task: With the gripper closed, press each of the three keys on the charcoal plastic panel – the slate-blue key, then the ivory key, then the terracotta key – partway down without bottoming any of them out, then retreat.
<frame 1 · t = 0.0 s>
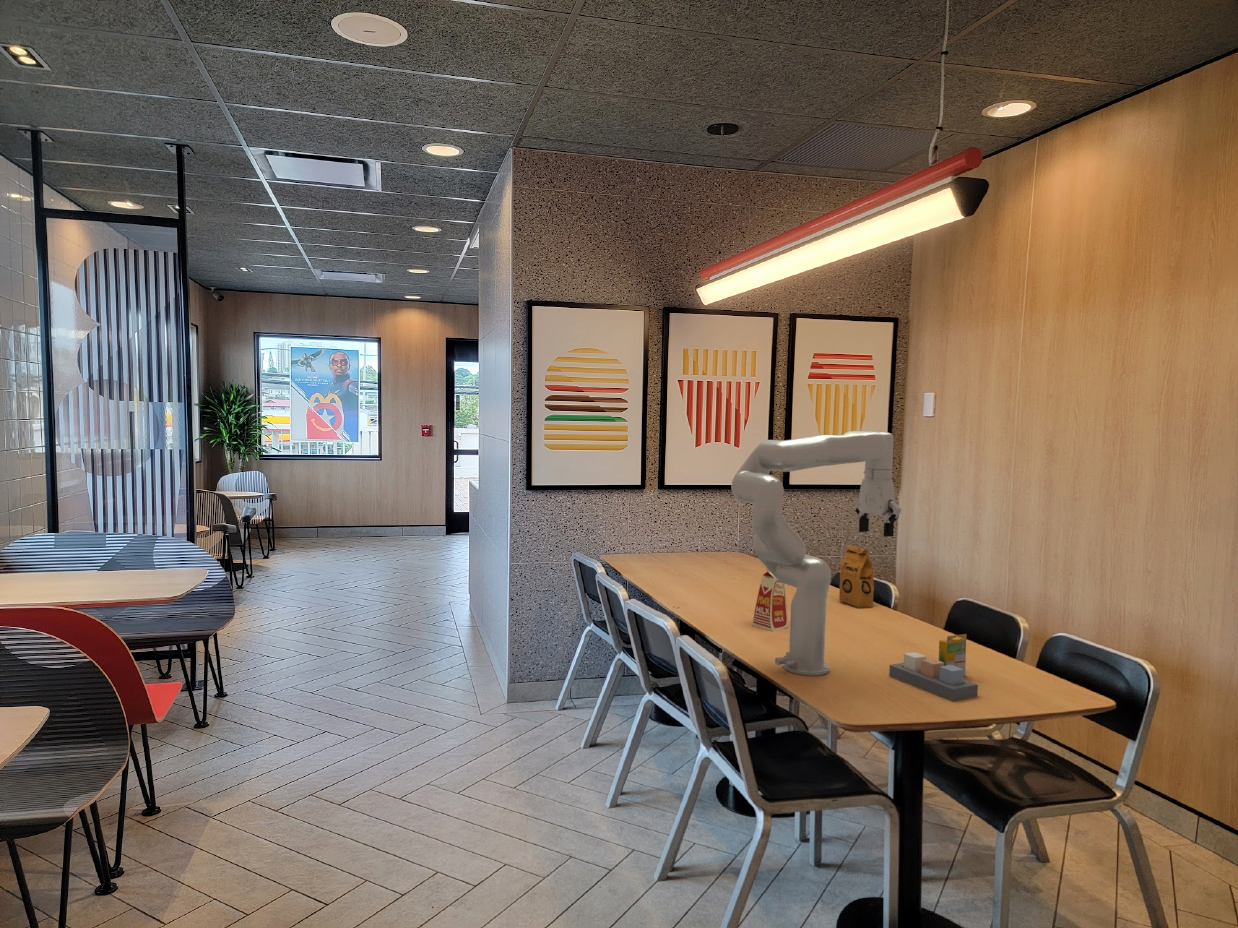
hand: (875, 533, 229), 37 cm above the table, tool pointing down, fingers open, 9 cm apart
terracotta key: (932, 668, 208), point 4 cm above the table, slide at 0.0 cm
milk carton: (770, 626, 265), on the table
crayon box: (951, 675, 218), on the table
ivory key: (914, 662, 214), point 5 cm above the table, slide at 0.0 cm
coffee package: (856, 605, 299), on the table
slate key: (951, 675, 203), point 4 cm above the table, slide at 0.0 cm
panel: (931, 685, 209), on the table
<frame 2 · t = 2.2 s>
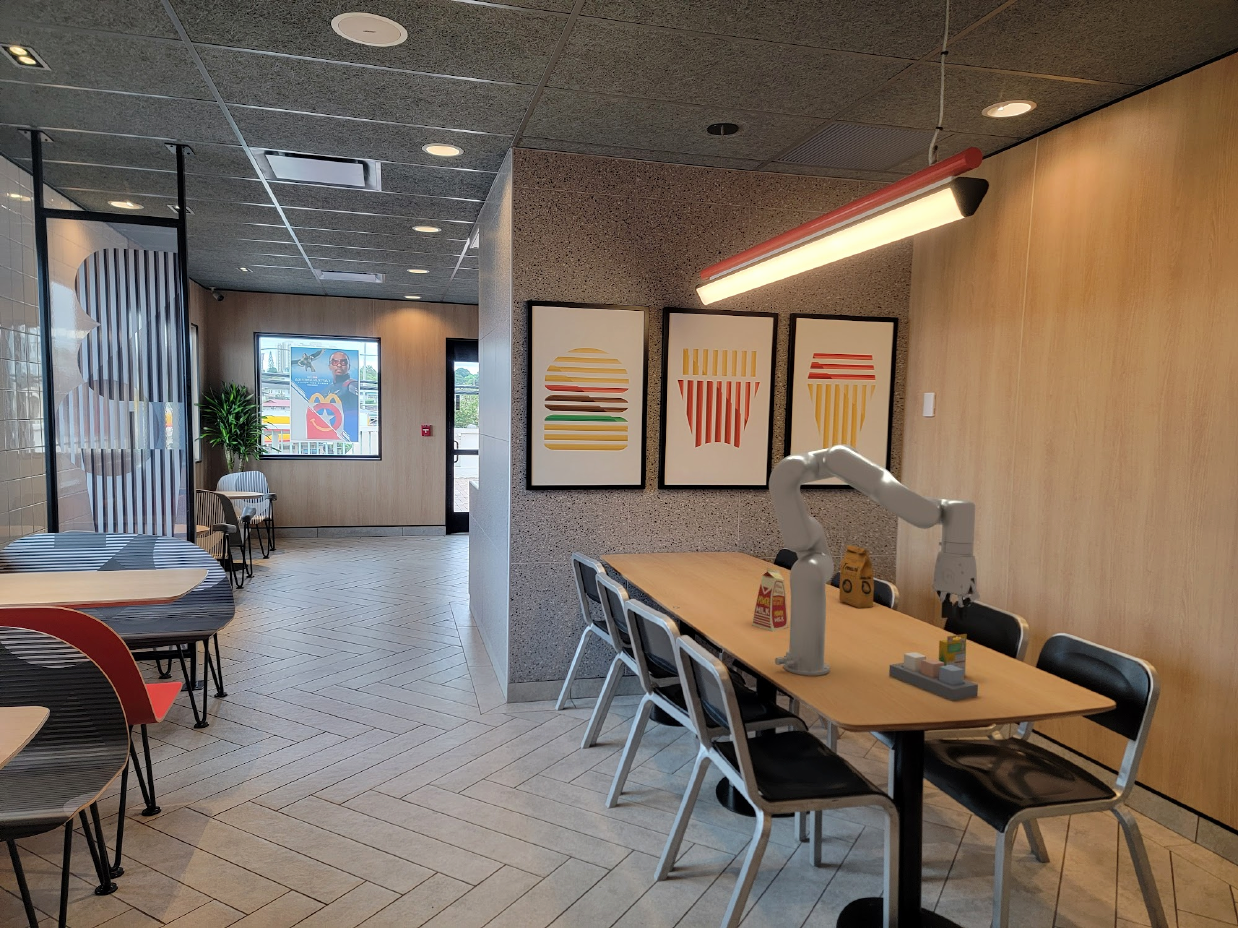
hand: (953, 618, 202), 19 cm above the table, tool pointing down, fingers open, 3 cm apart
nothing on the table moved.
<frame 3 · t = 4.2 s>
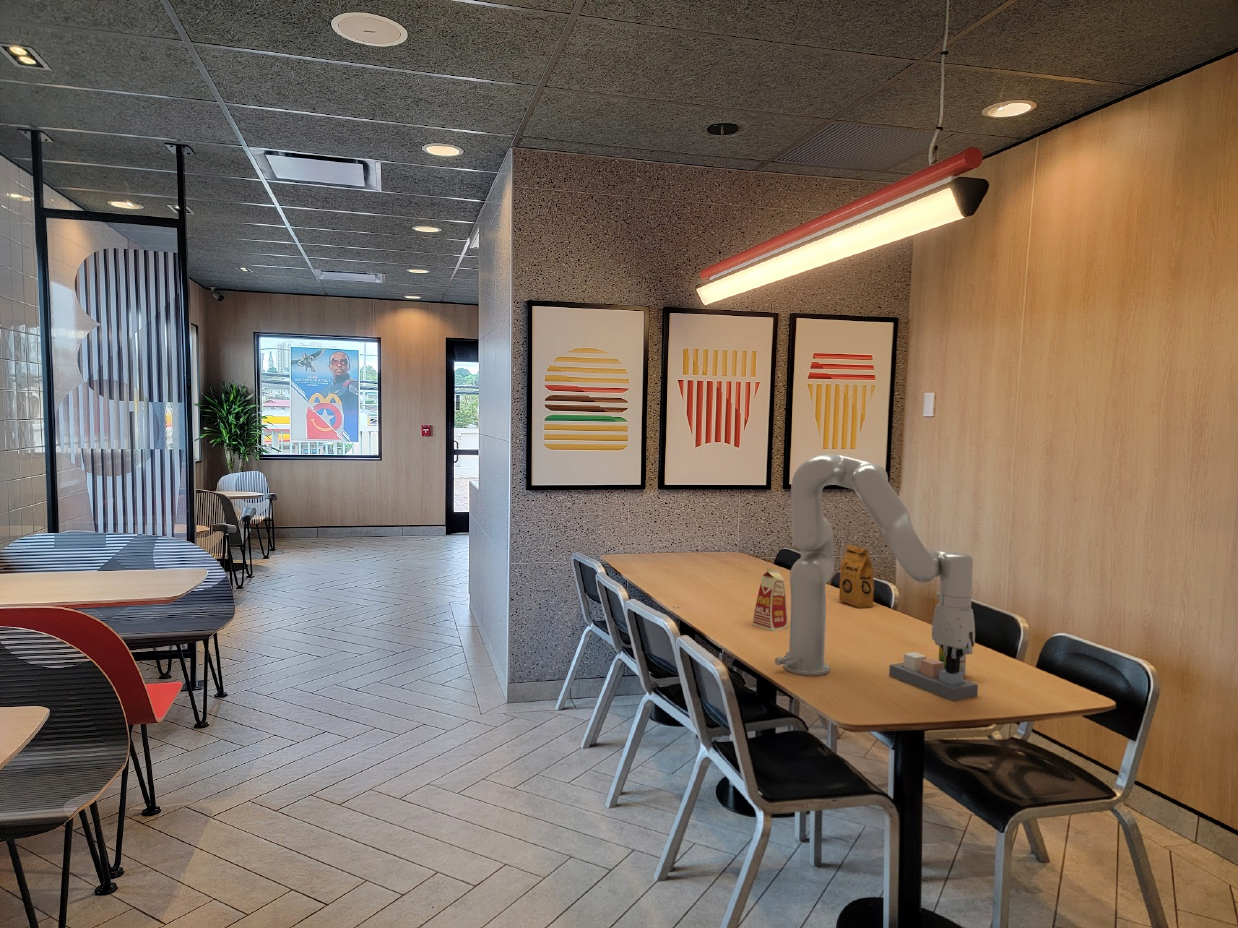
hand: (952, 671, 203), 6 cm above the table, tool pointing down, fingers closed
slate key: (951, 679, 203), point 3 cm above the table, slide at 1.1 cm, touching gripper
everything else where it was.
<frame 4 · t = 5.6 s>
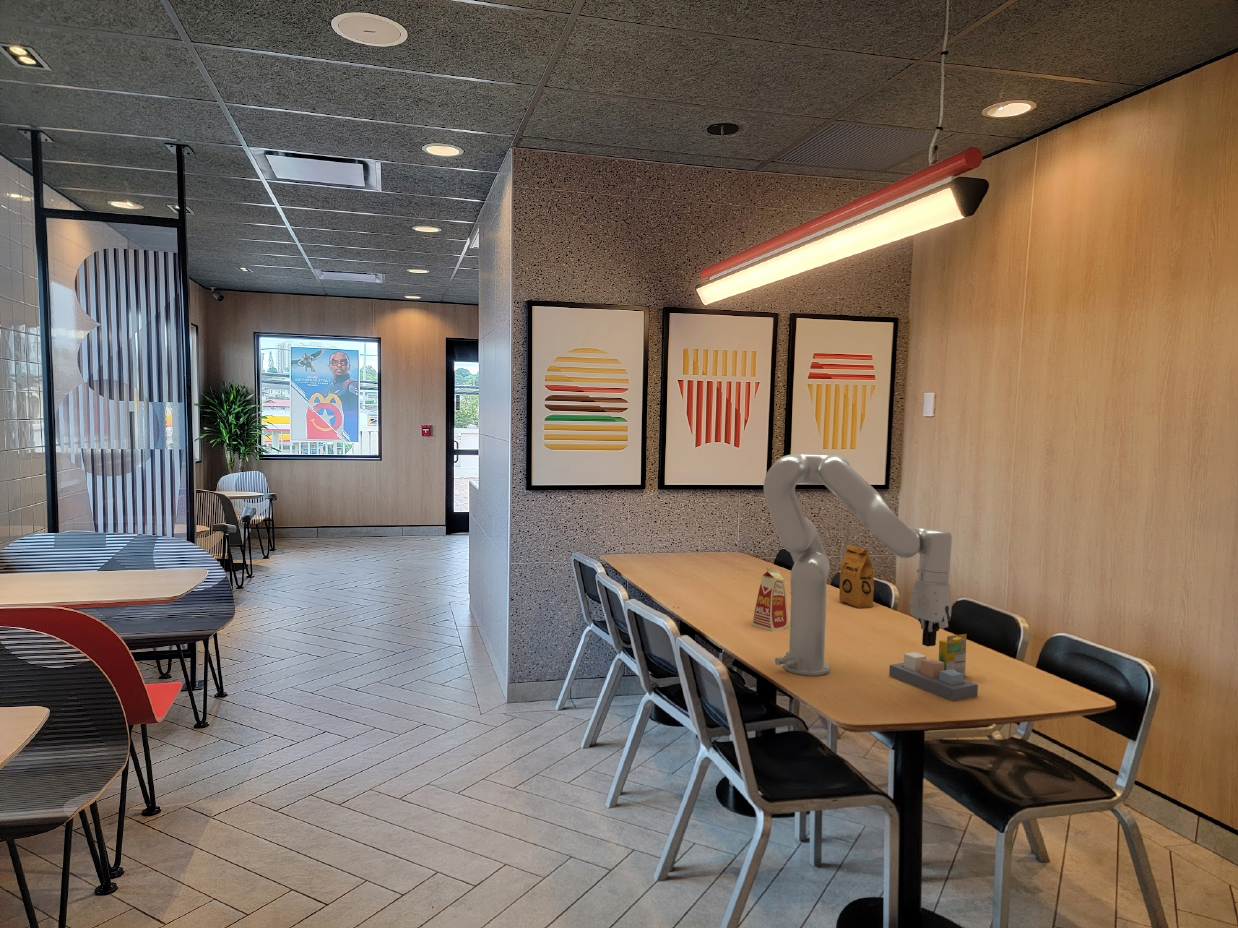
hand: (928, 644, 209), 11 cm above the table, tool pointing down, fingers closed
slate key: (951, 680, 203), point 3 cm above the table, slide at 1.2 cm
everything else where it was.
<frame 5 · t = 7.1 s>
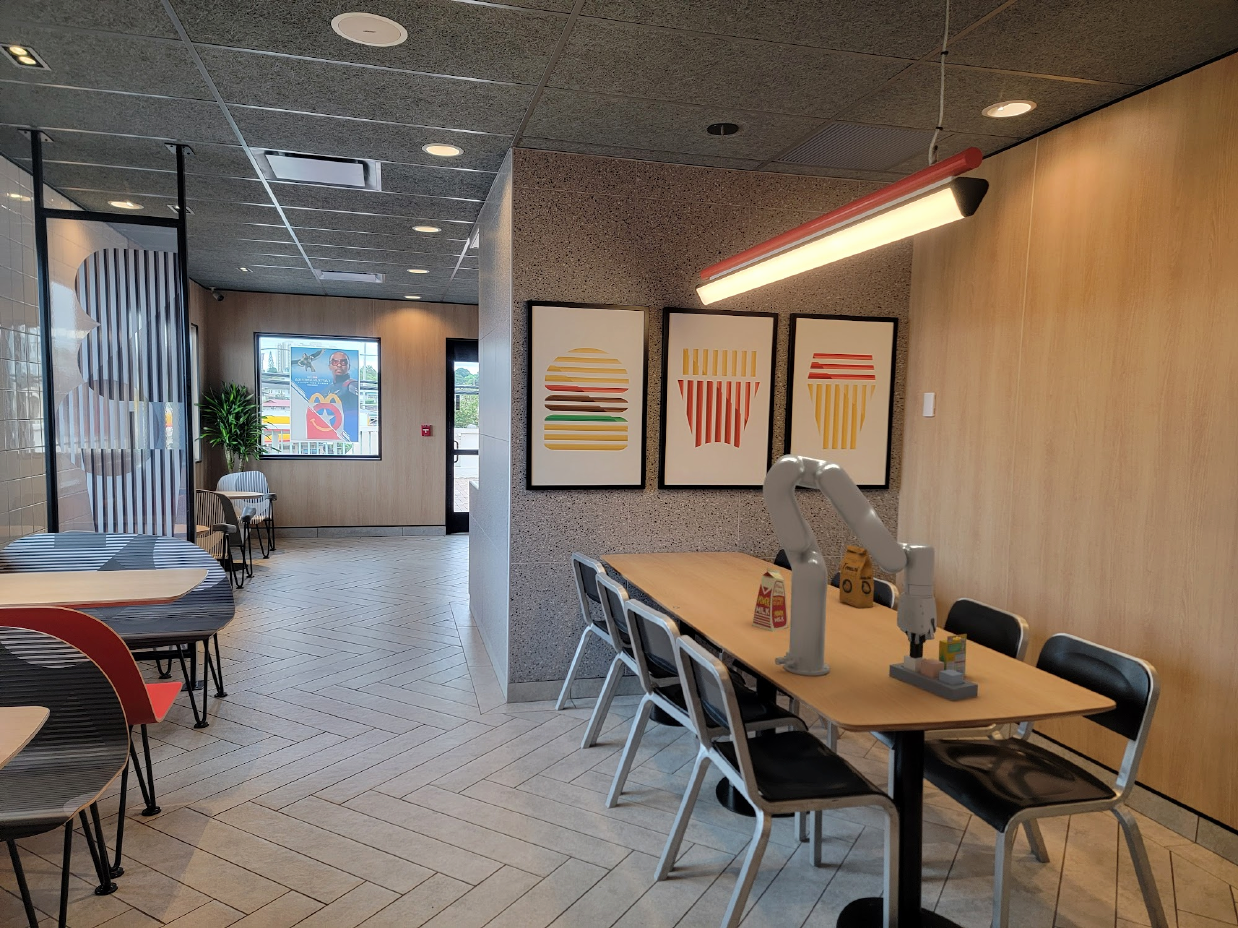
hand: (916, 656, 214), 6 cm above the table, tool pointing down, fingers closed
ivory key: (914, 664, 214), point 4 cm above the table, slide at 0.5 cm, touching gripper
everything else where it was.
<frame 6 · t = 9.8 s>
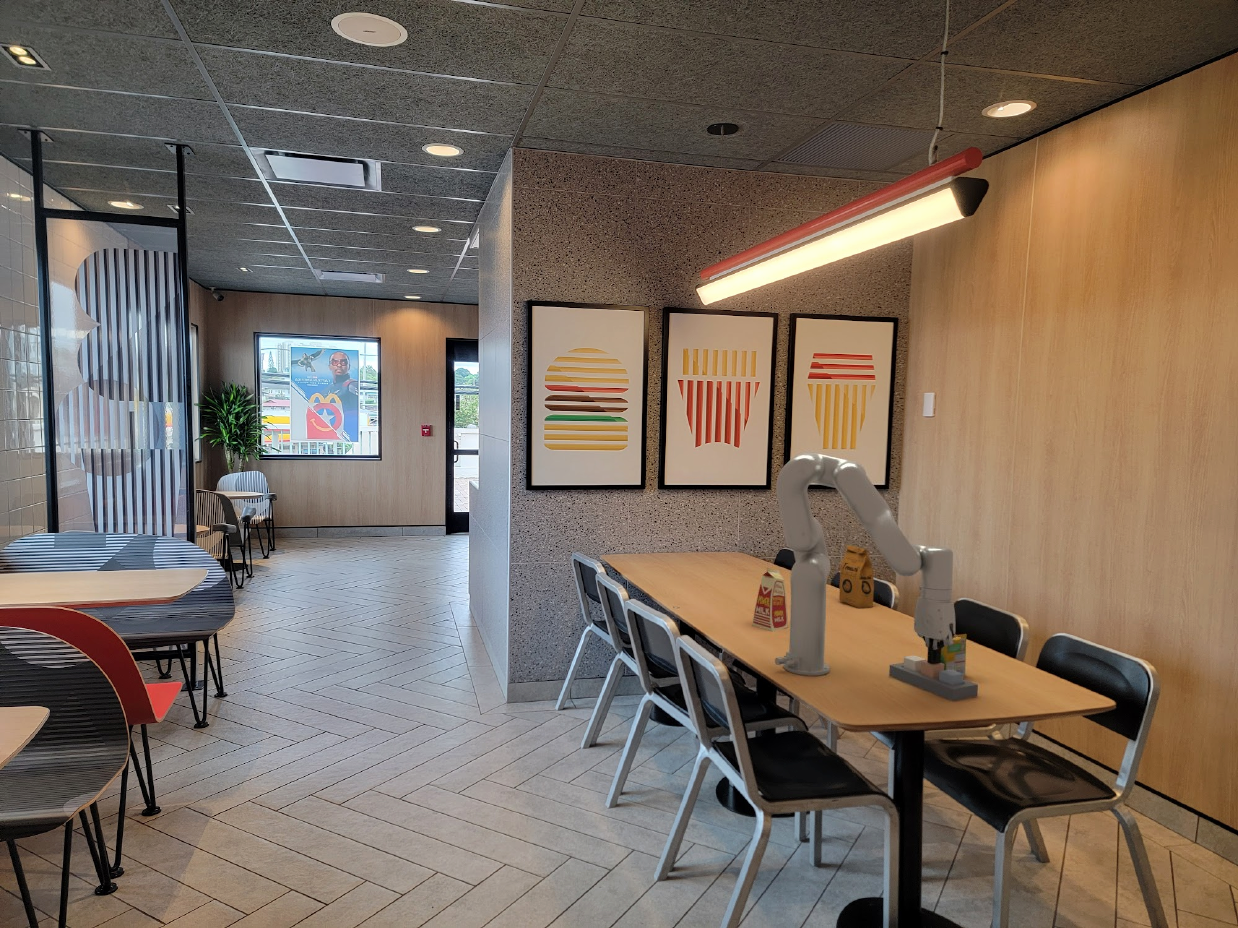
hand: (934, 662, 208), 6 cm above the table, tool pointing down, fingers closed
terracotta key: (932, 670, 208), point 4 cm above the table, slide at 0.4 cm, touching gripper
ivory key: (914, 665, 214), point 4 cm above the table, slide at 0.9 cm
everything else where it was.
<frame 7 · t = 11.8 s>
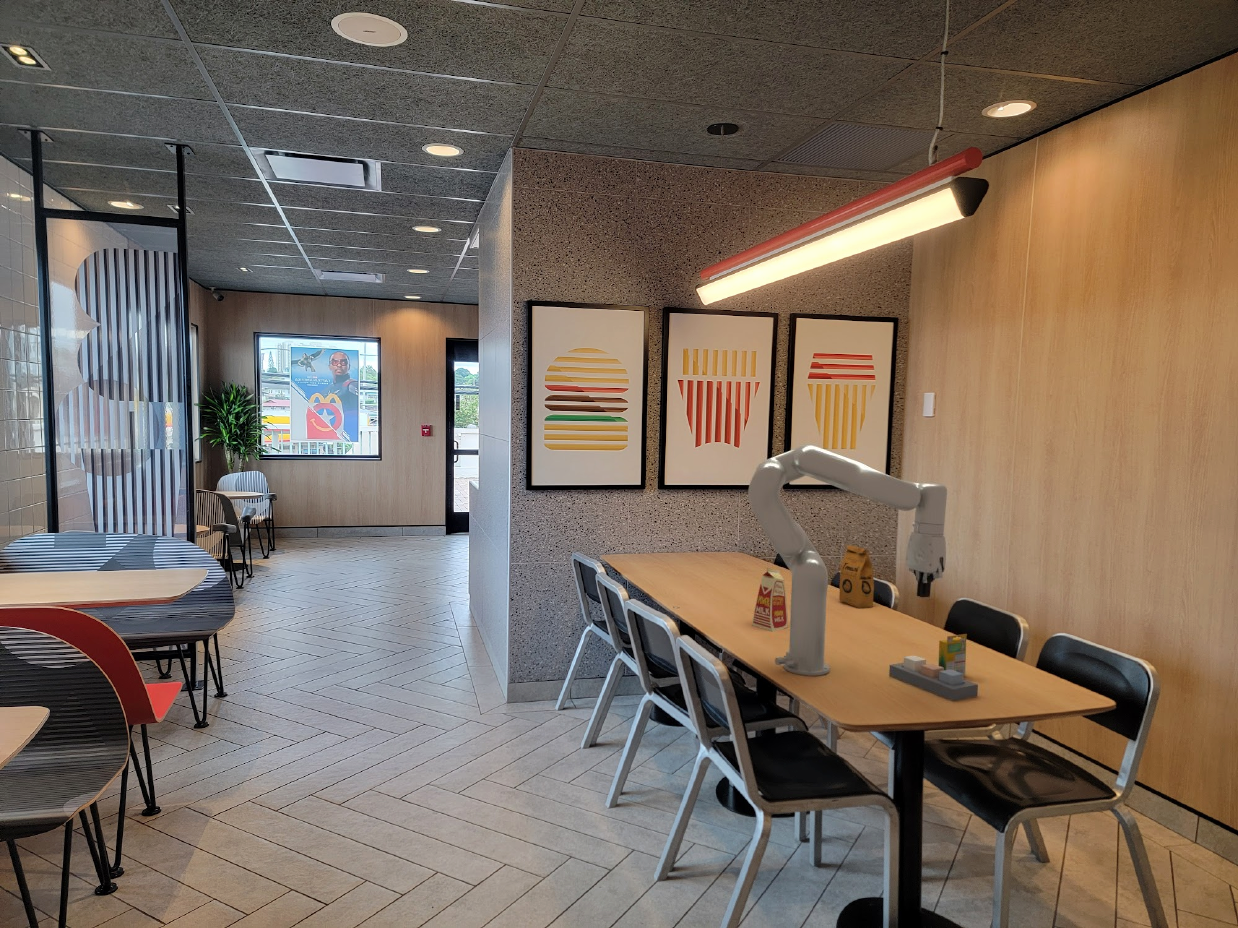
hand: (923, 596, 214), 22 cm above the table, tool pointing down, fingers closed
terracotta key: (932, 673, 208), point 3 cm above the table, slide at 1.4 cm
everything else where it was.
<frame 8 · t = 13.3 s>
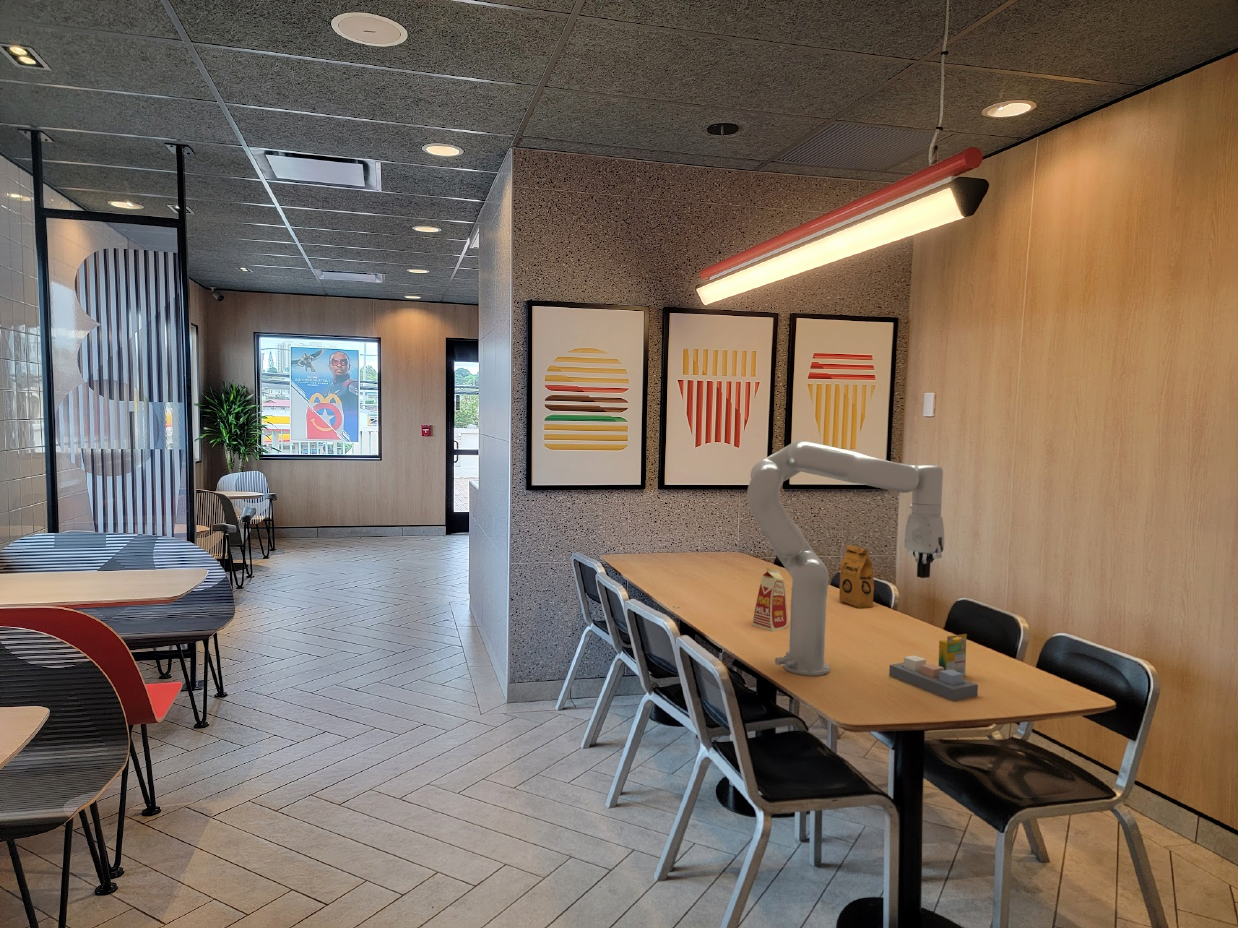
hand: (923, 576, 216), 27 cm above the table, tool pointing down, fingers closed
nothing on the table moved.
at the end: slate key slide at 1.2 cm; ivory key slide at 0.9 cm; terracotta key slide at 1.4 cm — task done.
